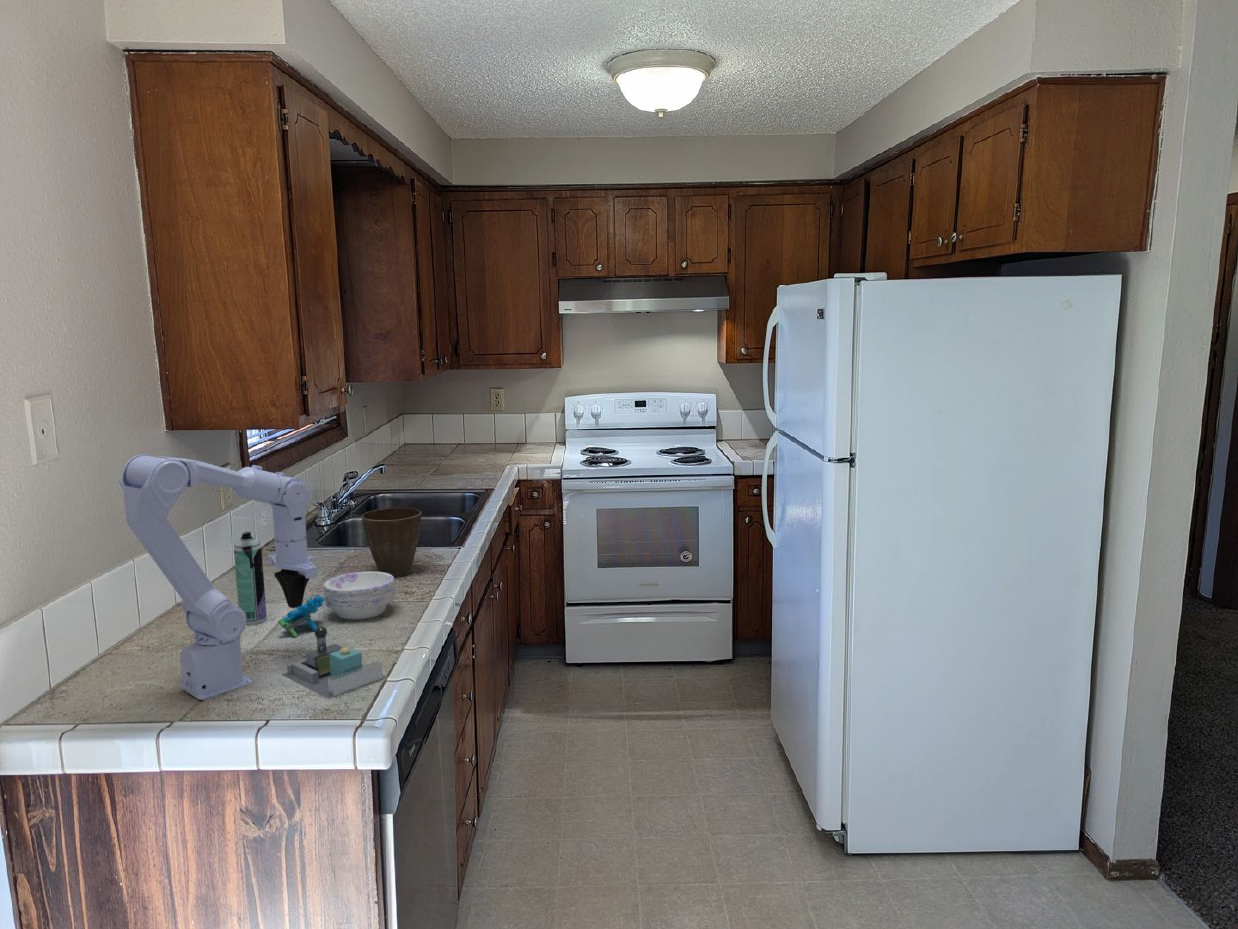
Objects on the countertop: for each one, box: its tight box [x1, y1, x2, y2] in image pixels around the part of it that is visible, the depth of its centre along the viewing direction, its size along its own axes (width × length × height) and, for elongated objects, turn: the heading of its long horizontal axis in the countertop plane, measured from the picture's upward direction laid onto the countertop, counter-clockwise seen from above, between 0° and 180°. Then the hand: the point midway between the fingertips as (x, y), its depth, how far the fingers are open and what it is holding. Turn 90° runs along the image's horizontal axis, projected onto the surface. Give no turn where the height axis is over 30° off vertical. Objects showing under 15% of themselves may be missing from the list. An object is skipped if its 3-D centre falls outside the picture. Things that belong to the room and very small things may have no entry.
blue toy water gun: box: [277, 595, 325, 638], centre depth 179 cm, size 11×6×10 cm
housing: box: [329, 646, 363, 677], centre depth 152 cm, size 4×4×6 cm
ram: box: [305, 626, 344, 677], centre depth 157 cm, size 6×4×8 cm, turn 140°
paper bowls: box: [323, 570, 396, 621], centre depth 189 cm, size 15×15×8 cm
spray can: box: [233, 531, 267, 626], centre depth 184 cm, size 6×6×20 cm
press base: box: [281, 658, 388, 700], centre depth 155 cm, size 12×16×3 cm
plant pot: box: [361, 507, 422, 578], centre depth 219 cm, size 15×15×16 cm
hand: (295, 606), depth 164 cm, fingers closed
